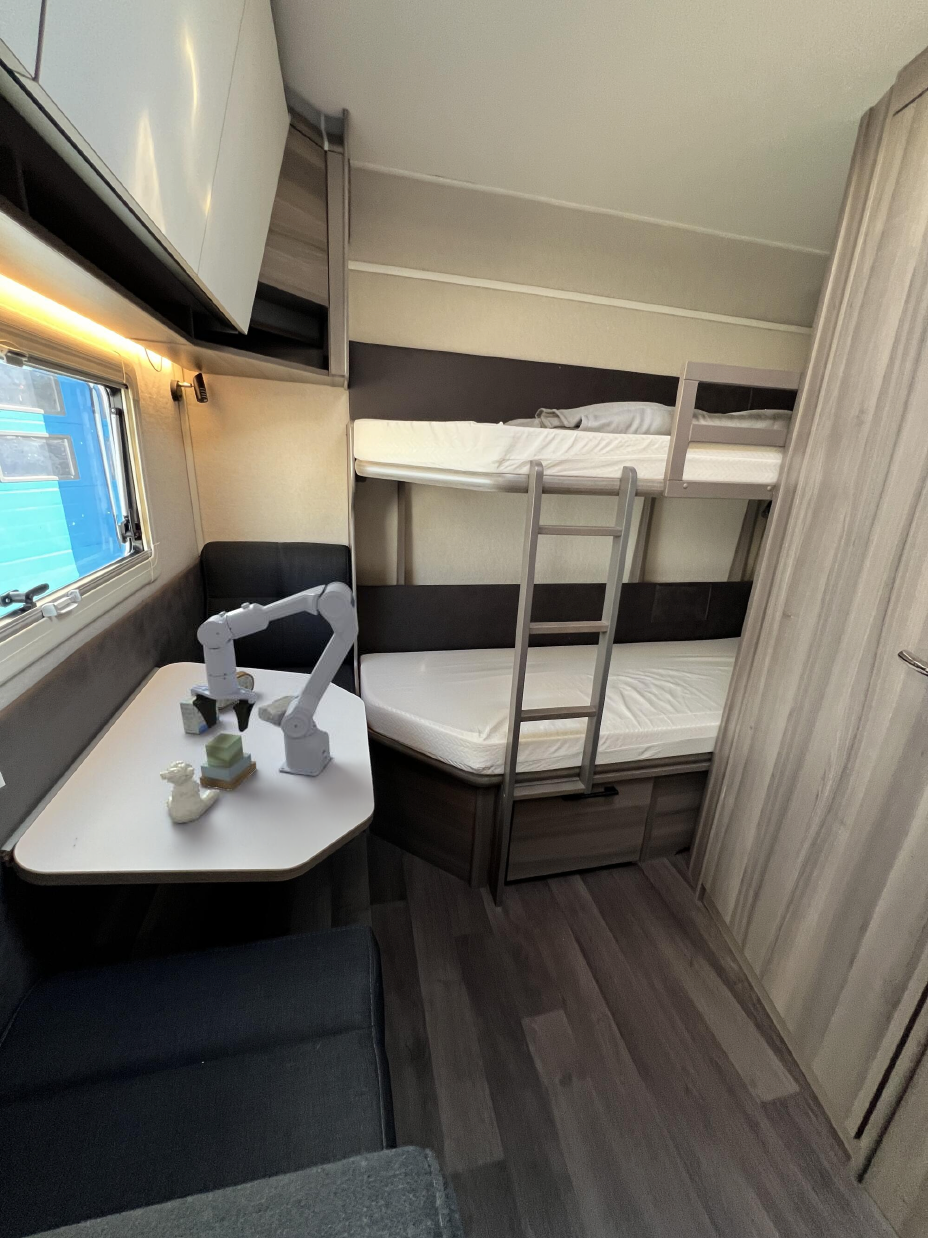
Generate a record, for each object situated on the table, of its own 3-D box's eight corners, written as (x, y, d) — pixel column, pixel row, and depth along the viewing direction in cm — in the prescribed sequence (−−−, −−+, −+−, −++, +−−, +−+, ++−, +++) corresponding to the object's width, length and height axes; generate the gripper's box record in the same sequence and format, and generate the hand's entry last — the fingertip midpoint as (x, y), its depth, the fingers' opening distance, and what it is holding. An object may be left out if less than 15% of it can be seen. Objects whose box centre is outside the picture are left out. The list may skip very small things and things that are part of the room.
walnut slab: (256, 770, 106) (255, 761, 106) (234, 792, 99) (233, 782, 98) (225, 766, 108) (224, 757, 107) (200, 787, 100) (199, 777, 99)
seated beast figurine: (221, 795, 97) (214, 744, 94) (212, 823, 89) (204, 769, 86) (169, 802, 95) (161, 750, 91) (155, 831, 87) (145, 776, 83)
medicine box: (198, 734, 119) (194, 704, 117) (183, 732, 120) (179, 702, 118) (220, 720, 127) (216, 691, 124) (205, 718, 127) (201, 689, 125)
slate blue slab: (251, 763, 105) (250, 753, 104) (229, 781, 98) (228, 771, 98) (225, 758, 107) (224, 748, 106) (201, 775, 100) (200, 765, 99)
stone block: (255, 723, 129) (278, 727, 124) (252, 707, 129) (274, 710, 123) (290, 708, 139) (313, 711, 134) (287, 693, 139) (310, 695, 133)
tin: (250, 691, 144) (247, 666, 142) (257, 694, 143) (254, 668, 140) (205, 711, 131) (201, 684, 128) (213, 714, 130) (209, 686, 127)
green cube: (243, 755, 104) (241, 735, 102) (229, 768, 99) (226, 747, 97) (223, 752, 104) (220, 733, 103) (208, 765, 100) (205, 744, 98)
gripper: (263, 667, 102) (268, 722, 106) (203, 661, 104) (210, 715, 108) (244, 680, 95) (249, 738, 99) (180, 673, 97) (188, 730, 101)
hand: (227, 727), depth 103 cm, fingers open, 7 cm apart
